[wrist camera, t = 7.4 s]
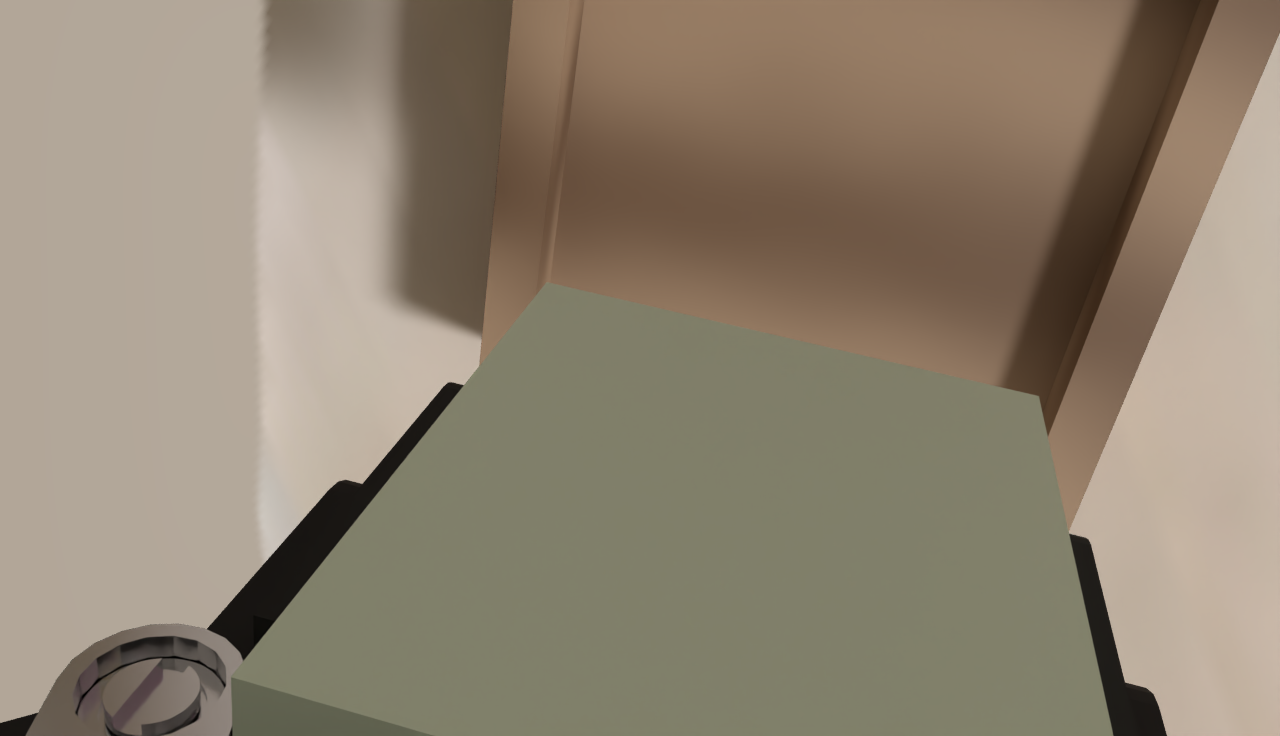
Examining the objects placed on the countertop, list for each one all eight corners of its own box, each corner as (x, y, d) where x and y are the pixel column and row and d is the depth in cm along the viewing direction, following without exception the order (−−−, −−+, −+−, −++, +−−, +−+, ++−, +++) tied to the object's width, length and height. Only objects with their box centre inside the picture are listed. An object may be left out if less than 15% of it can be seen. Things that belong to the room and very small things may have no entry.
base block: (596, -206, 21) (532, -207, 18) (1250, -89, 19) (1321, -65, 16) (532, 346, 27) (473, 428, 23) (1032, 470, 25) (1049, 576, 22)
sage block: (546, 282, 11) (231, 676, 6) (1038, 396, 11) (1159, 945, 5) (502, 650, 14) (246, 1165, 8) (904, 760, 13) (899, 1391, 8)
